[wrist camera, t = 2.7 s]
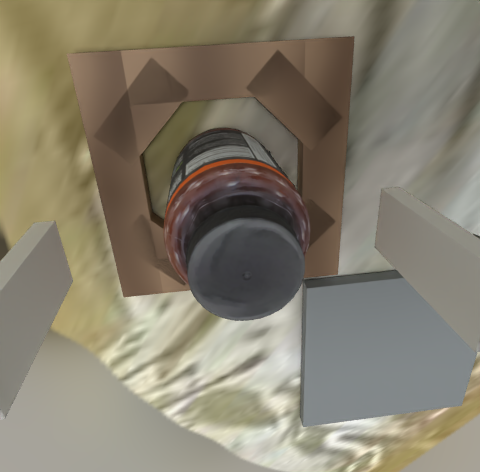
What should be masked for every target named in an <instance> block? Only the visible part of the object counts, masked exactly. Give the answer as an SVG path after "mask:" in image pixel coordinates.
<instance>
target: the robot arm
mask: <svg viewBox="0 0 480 472" xmlns="http://www.w3.org/2000/svg"><path fill="white" fill-rule="evenodd" d="M375 248H376V249H377V250H378V251H379V252H380V253H381V254H382V255H383V256H384V257H385V258H386V259H387V261H388V262H389V263H390V264H391V265H392V266H393V267H394V268H395V269H396V270H397V271H398V272H399V273H400V274H401V275H402V276H403V277H404V278H405V279H406V280H407V282H408V283H409V284H410V285H411V286H412V287H413V288H414V289H415V290H416V291H417V292H418V293H419V294H420V295H421V296H422V297H423V298H424V299H425V300H426V301H427V302H428V304H429V305H430V306H431V307H432V308H433V309H434V310H435V311H436V312H437V313H438V314H439V315H440V316H441V317H442V318H443V319H444V320H445V321H446V322H447V323H448V324H449V326H450V327H451V328H452V329H453V330H454V331H455V332H456V333H457V334H458V335H459V336H460V337H461V338H462V339H463V340H464V341H465V342H466V343H467V344H468V345H469V346H470V348H471V349H472V350H473V351H474V352H480V236H477V235H475V234H471V233H470V232H468V231H467V230H465V229H464V228H462V227H461V226H459V225H457V224H456V223H454V222H453V221H451V220H450V219H448V218H447V217H445V216H443V215H442V214H440V213H439V212H437V211H436V210H434V209H433V208H431V207H429V206H428V205H426V204H425V203H423V202H422V201H420V200H419V199H417V198H415V197H414V196H412V195H411V194H409V193H408V192H406V191H405V190H403V189H402V188H400V187H394V188H383V189H381V198H380V206H379V215H378V223H377V232H376V240H375ZM72 282H73V279H72V276H71V272H70V269H69V266H68V262H67V259H66V256H65V252H64V249H63V246H62V242H61V239H60V236H59V232H58V229H57V225H56V222H55V221H47V222H36V223H34V224H33V225H32V226H31V227H30V228H29V229H28V231H27V232H26V233H25V234H24V235H23V236H22V237H21V238H20V240H19V241H18V242H17V243H16V244H15V245H14V246H13V248H12V249H11V250H10V251H9V252H8V253H7V255H6V256H5V257H4V258H3V259H2V260H1V261H0V419H5V418H6V416H7V414H8V412H9V410H10V408H11V405H12V404H13V401H14V400H15V397H16V395H17V394H18V391H19V389H20V387H21V385H22V383H23V381H24V379H25V377H26V375H27V373H28V371H29V369H30V367H31V365H32V363H33V361H34V359H35V357H36V355H37V353H38V351H39V349H40V347H41V345H42V343H43V341H44V339H45V337H46V335H47V333H48V331H49V329H50V327H51V325H52V323H53V321H54V319H55V316H56V314H57V312H58V310H59V308H60V306H61V304H62V302H63V300H64V298H65V296H66V294H67V292H68V290H69V288H70V286H71V284H72Z"/></svg>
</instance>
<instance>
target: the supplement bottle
mask: <svg viewBox="0 0 480 472" xmlns="http://www.w3.org/2000/svg"><path fill="white" fill-rule="evenodd" d="M309 239H310V219H309V214H308V211H307V208H306V206H305V203H304V201H303V199H302V197H301V196H300V194H299V193H298V191H297V190H296V188H295V186H294V185H293V184H292V183H291V182H290V180H289V179H288V177H287V176H286V174H285V173H284V172H283V171H282V170H281V168H280V167H279V165H278V164H277V163H276V162H275V160H274V159H273V158H272V156H271V153H270V151H269V152H268V151H267V150H266V149H265V147H264V146H263V145H262V144H260V143H259V142H258V141H257V140H256V139H254V138H253V137H252V136H250V135H248V134H246V133H244V132H241V131H239V130H236V129H230V128H219V129H213V130H209V131H206V132H204V133H201V134H200V135H198V136H196V137H195V138H193V139H192V140H190V141H189V142H188V144H187V145H186V146H185V147H184V148H183V150H182V151H181V152H180V154H179V156H178V158H177V160H176V163H175V165H174V169H173V174H172V180H171V185H170V190H169V196H168V202H167V208H166V211H165V220H164V243H165V248H166V252H167V255H168V259H169V261H170V263H171V265H172V266H173V268H174V269H175V271H176V272H177V274H178V275H179V276H180V277H181V279H182V280H184V281H185V282H186V283H187V284H188V285H189V286H190V289H191V291H192V294H193V295H194V297H195V298H196V300H197V301H198V302H199V303H200V304H201V305H202V306H203V307H204V308H205V309H206V310H208V311H209V312H211V313H213V314H215V315H217V316H219V317H222V318H225V319H230V320H235V321H239V320H240V321H244V320H246V321H247V320H254V319H260V318H263V317H266V316H268V315H271V314H273V313H274V312H277V311H279V310H280V309H282V308H283V307H284V306H285V305H286V304H287V303H288V302H289V301H290V300H291V299H292V298H293V297H294V296H295V294H296V293H297V291H298V290H299V288H300V286H301V284H302V281H303V278H304V273H305V255H306V252H307V249H308V246H309Z"/></svg>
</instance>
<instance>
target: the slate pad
mask: <svg viewBox="0 0 480 472" xmlns="http://www.w3.org/2000/svg"><path fill="white" fill-rule="evenodd" d="M476 355H477V352H474V351H473V350H472V349H471V348H470V346H469V345H468V344H467V343H466V342H465V341H464V340H463V339H462V338H461V337H460V336H459V335H458V334H457V333H456V332H455V331H454V330H453V329H452V328H451V327H450V326H449V324H448V323H447V322H446V321H445V320H444V319H443V318H442V317H441V316H440V315H439V314H438V313H437V312H436V311H435V310H434V309H433V308H432V307H431V306H430V305H429V304H428V302H427V301H426V300H425V299H424V298H423V297H422V296H421V295H420V294H419V293H418V292H417V291H416V290H415V289H414V288H413V287H412V286H411V285H410V284H409V283H408V282H407V280H406V279H405V278H404V277H403V276H402V275H401V274H400V273H399V272H398V271H397V270H396V271H386V272H377V273H368V274H358V275H349V276H340V277H330V278H321V279H312V280H303V316H302V359H301V403H300V418H301V421H302V425H303V427H307V426H314V425H322V424H329V423H337V422H344V421H351V420H359V419H366V418H374V417H381V416H388V415H396V414H403V413H410V412H418V411H425V410H433V409H440V408H447V407H455V406H462V402H463V399H464V396H465V392H466V389H467V385H468V382H469V379H470V375H471V372H472V368H473V365H474V362H475V358H476Z"/></svg>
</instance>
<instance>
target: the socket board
mask: <svg viewBox="0 0 480 472" xmlns="http://www.w3.org/2000/svg"><path fill="white" fill-rule="evenodd" d="M353 51H354V36H352V37H335V38H319V39H303V40H286V41H270V42H253V43H237V44H221V45H204V46H188V47H171V48H155V49H139V50H122V51H106V52H90V53H73V54H67V56H68V61H69V65H70V69H71V73H72V78H73V82H74V86H75V91H76V95H77V99H78V103H79V108H80V112H81V116H82V121H83V125H84V129H85V133H86V138H87V142H88V146H89V151H90V155H91V159H92V163H93V168H94V172H95V176H96V181H97V185H98V189H99V193H100V198H101V202H102V206H103V211H104V215H105V219H106V223H107V228H108V232H109V236H110V241H111V245H112V249H113V253H114V258H115V262H116V266H117V271H118V275H119V279H120V283H121V288H122V292H123V296H124V297H131V296H140V295H149V294H159V293H168V292H177V291H187V290H191V289H190V286H189V285H188V284H187V283H186V282H185V281H184V280H182V279H181V277H180V276H179V275H178V274H177V272H176V271H175V269H174V268H173V266H172V265H171V263H170V261H169V259H168V255H167V252H166V248H165V243H164V220H163V219H161V218H160V217H159V216H157V215H156V214H154V213H153V212H152V207H151V201H150V195H149V189H148V183H147V177H146V172H145V166H144V160H143V154H142V153H143V151H144V150H145V149H146V148H147V146H148V145H149V144H150V142H151V141H152V140H153V139H154V137H155V136H156V135H157V134H158V132H159V131H160V130H161V128H162V127H163V126H164V125H165V123H166V122H167V121H168V120H169V118H170V117H171V116H172V114H173V113H174V112H175V111H176V109H177V108H178V107H179V105H180V104H181V103H182V102H185V101H199V100H213V99H227V98H241V97H255V98H256V99H257V100H258V101H259V102H260V103H261V104H262V105H263V106H264V107H265V108H266V109H267V110H268V111H270V112H271V113H272V114H273V115H274V116H275V117H276V118H277V119H278V120H279V121H280V122H281V123H282V124H283V125H284V126H285V127H286V128H287V129H288V130H289V131H290V132H291V133H292V134H293V135H295V136H296V137H297V138H298V187H297V191H298V193H299V194H300V196H301V197H302V199H303V201H304V203H305V206H306V208H307V211H308V214H309V219H310V239H309V246H308V249H307V252H306V255H305V273H304V278H308V277H318V276H327V275H337V274H338V264H339V250H340V236H341V221H342V207H343V193H344V179H345V164H346V150H347V136H348V122H349V108H350V93H351V79H352V65H353Z"/></svg>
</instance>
